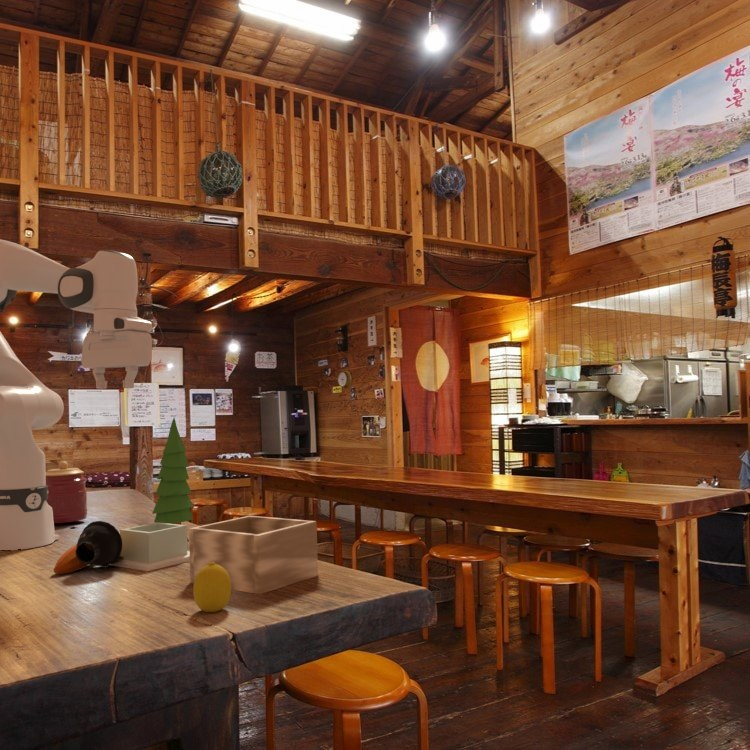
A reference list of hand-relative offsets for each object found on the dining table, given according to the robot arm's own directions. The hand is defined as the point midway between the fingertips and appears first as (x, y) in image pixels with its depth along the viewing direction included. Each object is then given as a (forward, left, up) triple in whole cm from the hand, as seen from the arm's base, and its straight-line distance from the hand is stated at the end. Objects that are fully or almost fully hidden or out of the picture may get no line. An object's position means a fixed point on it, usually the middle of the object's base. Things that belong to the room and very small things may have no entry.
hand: (114, 388), depth 144 cm
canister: (-65, +26, -37) cm, 79 cm away
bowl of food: (+10, -14, -33) cm, 37 cm away
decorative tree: (-5, +18, -37) cm, 41 cm away
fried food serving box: (+40, 0, -37) cm, 54 cm away
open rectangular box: (+9, +2, -37) cm, 38 cm away
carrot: (+4, -17, -35) cm, 39 cm away
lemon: (+49, -18, -37) cm, 64 cm away
